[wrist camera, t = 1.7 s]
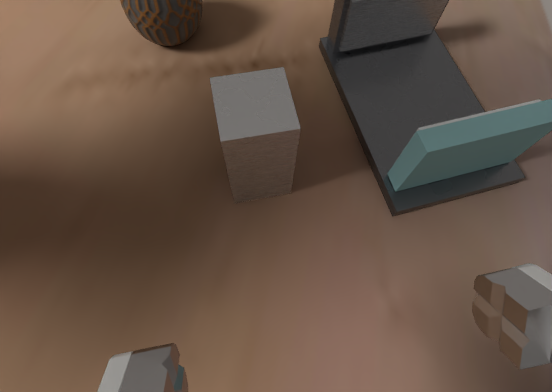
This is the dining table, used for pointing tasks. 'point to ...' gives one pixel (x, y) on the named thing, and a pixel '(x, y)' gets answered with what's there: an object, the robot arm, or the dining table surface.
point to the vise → (402, 91)
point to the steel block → (257, 132)
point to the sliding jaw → (470, 143)
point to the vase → (164, 19)
